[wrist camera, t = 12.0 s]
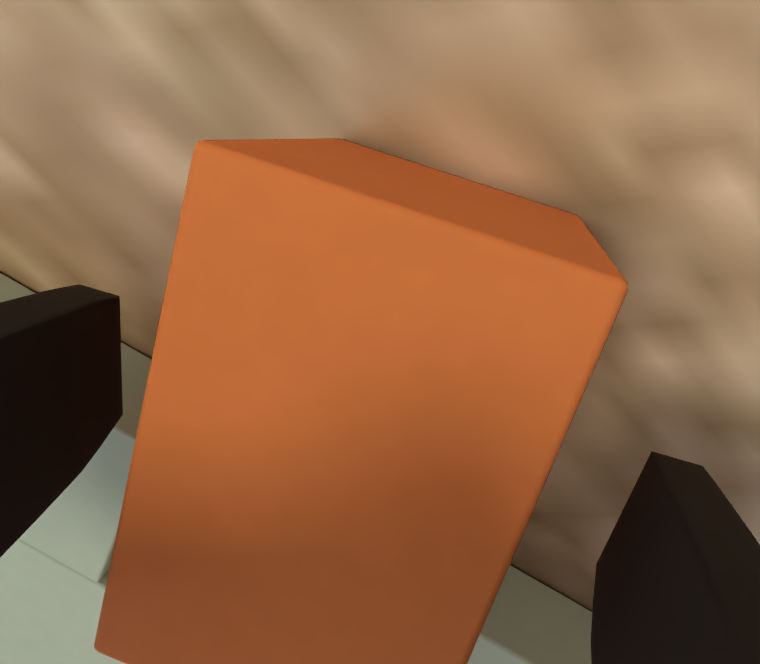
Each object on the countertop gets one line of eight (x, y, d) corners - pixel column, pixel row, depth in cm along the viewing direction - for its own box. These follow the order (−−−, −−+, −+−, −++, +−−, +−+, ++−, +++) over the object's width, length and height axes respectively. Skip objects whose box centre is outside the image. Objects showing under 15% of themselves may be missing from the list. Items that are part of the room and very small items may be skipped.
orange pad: (581, 216, 10) (632, 283, 6) (397, 684, 13) (332, 982, 9) (335, 136, 11) (192, 136, 6) (210, 608, 14) (49, 854, 9)
